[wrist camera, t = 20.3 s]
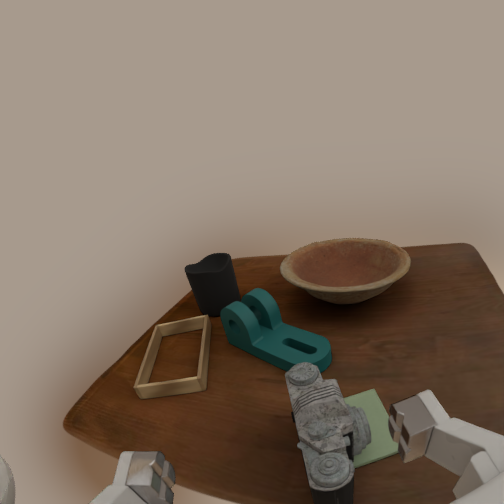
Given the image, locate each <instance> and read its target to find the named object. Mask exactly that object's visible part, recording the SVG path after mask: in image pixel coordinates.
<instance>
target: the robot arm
mask: <svg viewBox="0 0 504 504" xmlns="http://www.w3.org/2000/svg"><path fill="white" fill-rule="evenodd" d="M389 412H390V414H391V416H390V417H389V419H388V427H389V432H390V435H391V437H392V440H393V441H394V442H396V443H398V452H399V454H400V456H401V459H402V461H403V463H406V462H409V461H411V460H414V459H416V458H419V457H421V456H424V455H425V456H426V457H428V458H429V459H431V460H433V461H434V462H436V463H438V464H439V465H441V466H443V467H445V468H446V469H448V470H450V471H452V472H453V473H455V474H457V475H459V476H460V478H459V480H458V482H457V483H456V485H455V487H454V489H453V492H454V494H455V496H456V498H457V500H455V501H453V502H451V503H449V504H504V436H502V435H500V434H497V433H494V432H491V431H489V430H486V429H483V428H480V427H478V426H475V425H472V424H470V423H467V422H465V421H462V420H459V419H457V418H451V419H450V417H449V416H448V414H447V413H446V411H445V410H444V409H443V407H442V406H441V404H440V403H439V401H438V400H437V399H436V397H435V396H434V394H433V393H432V391H430V390H426V391H424V392H421V393H419V394H417V395H413V396H411V397H408V398H406V399H403V400H401V401H398V402H396V403H393V404H391V405H390V408H389ZM164 459H165V456H164V454H163V453H162V452H161V451H145V452H136V451H123V452H122V453H121V455H120V458H119V462H118V465H117V469H116V473H115V477H114V480H113V484H112V485H108V486H107V487H106V488H105V489H104V490H103V491H102V492H101V493H100V494H99V495H97V496H96V497H95V498H94V499H93V500H92V501H91V502H90V503H89V504H173V497H174V493H173V492H172V490H171V488H172V486H174V484H175V471H174V468H173V466H172V465H171V463H170V462H168V461H166V460H164Z"/></svg>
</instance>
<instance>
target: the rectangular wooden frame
mask: <svg viewBox="0 0 504 504" xmlns="http://www.w3.org/2000/svg"><path fill="white" fill-rule="evenodd" d="M211 327H212V325H211V322H210V319H209V316H208V314H207V315H203V316H198V317H193V318H189V319H184V320H179V321H174V322H169V323H164V324H159V325H156V326H155V329H154V331H153V334H152V337H151V339H150V342H149V345H148V348H147V351H146V353H145V356H144V359H143V362H142V365H141V367H140V370H139V373H138V376H137V379H136V382H135V385H134V389H135V391H136V393H137V394H138V396H139V398H140V399H146V398H155V397H163V396H171V395H178V394H185V393H192V392H199V391H205V390H206V386H207V373H208V361H209V349H210V338H211ZM198 329H203V334H202V342H201V349H200V357H199V366H198V374H197V376H196V377H190V378H184V379H178V380H171V381H164V382H157V383H149V384H148V382H149V379H150V375H151V372H152V368H153V365H154V362H155V359H156V355H157V352H158V349H159V346H160V342H161V339H162V336H168V335H173V334H178V333H184V332H188V331H193V330H198Z"/></svg>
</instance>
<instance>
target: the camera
mask: <svg viewBox="0 0 504 504" xmlns="http://www.w3.org/2000/svg"><path fill="white" fill-rule="evenodd" d="M285 377H286V382H287V386H288V391H289V395H290V400H291V405H292V409H293V412H291V414H292V418H293V422H295V423H296V428H297V432H298V437H299V442H300V443H298V444H297V446H298V448H299V449H301V451H302V456H303V460H304V465H305V470H306V474H307V478H308V482H309V485H310V489H311V493H312V497H313V501H314V504H353V488H354V473H353V472H355V469H354V465H353V462H354V456H356V455H359V454H361V452H362V449H365V448H366V445H368V444H369V443H371V430H370V426H369V422H368V419H367V416H366V414H365V412H364V410H363V409H362V408H361V407H359V408H356V407H355V406H353V407H350V405H349V404H346V403H345V401H344V399H343V396H342V394H341V391H340V389H339V386H338V384H337V380H336V379H330V380H323V379H322V377H321V374H320V372H319V369H318V366H315V365H313V364H311V363H308V362H303V363H298V364H296V365H294V366H293V367H292V368H291V369H290V370H289V371H288V372H287V373H286V374H285Z"/></svg>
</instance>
